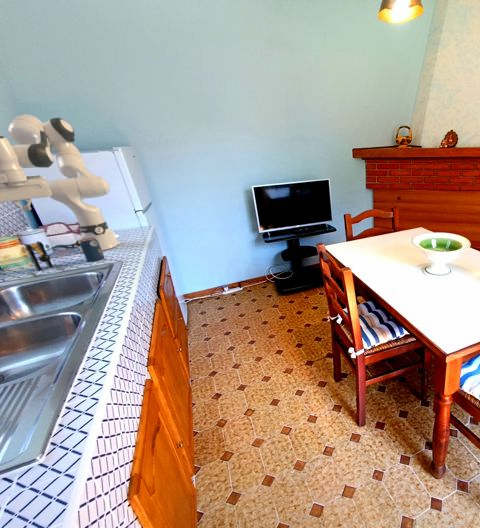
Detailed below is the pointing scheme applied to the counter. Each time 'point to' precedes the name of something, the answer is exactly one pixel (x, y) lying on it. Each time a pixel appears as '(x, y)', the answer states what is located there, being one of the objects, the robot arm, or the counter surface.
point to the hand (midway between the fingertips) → (26, 210)
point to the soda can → (91, 249)
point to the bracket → (35, 257)
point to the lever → (40, 253)
